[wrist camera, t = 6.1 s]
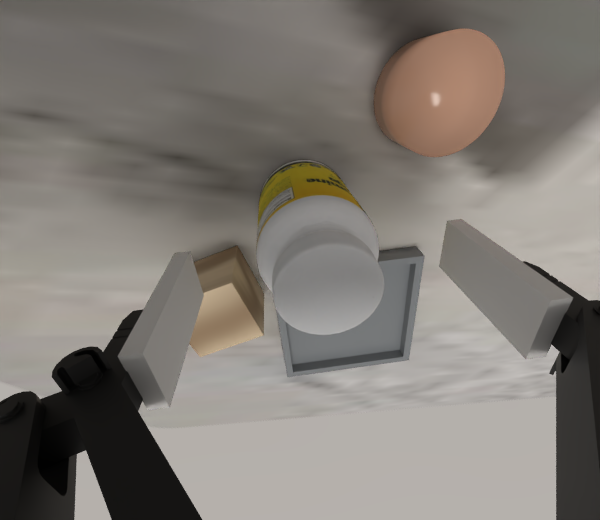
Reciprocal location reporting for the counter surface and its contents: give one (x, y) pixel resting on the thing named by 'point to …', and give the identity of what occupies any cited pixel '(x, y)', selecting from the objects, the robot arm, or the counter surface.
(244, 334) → the cork block
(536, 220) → the counter surface
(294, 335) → the slate tray
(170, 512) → the robot arm
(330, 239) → the pill bottle
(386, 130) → the brown egg
